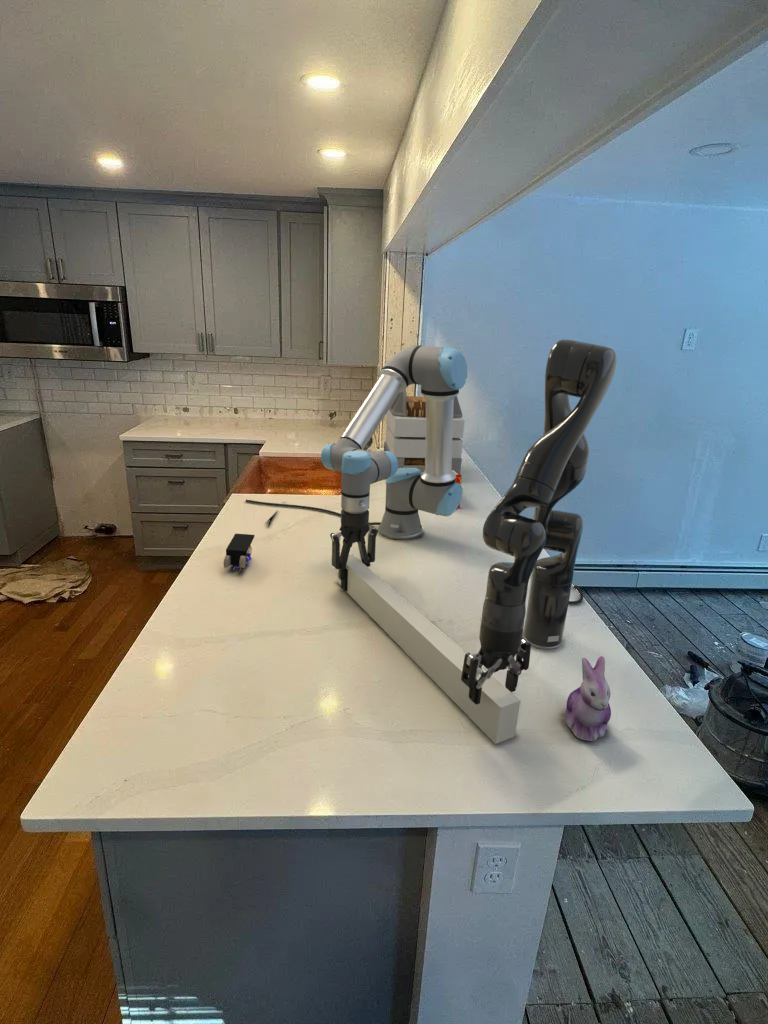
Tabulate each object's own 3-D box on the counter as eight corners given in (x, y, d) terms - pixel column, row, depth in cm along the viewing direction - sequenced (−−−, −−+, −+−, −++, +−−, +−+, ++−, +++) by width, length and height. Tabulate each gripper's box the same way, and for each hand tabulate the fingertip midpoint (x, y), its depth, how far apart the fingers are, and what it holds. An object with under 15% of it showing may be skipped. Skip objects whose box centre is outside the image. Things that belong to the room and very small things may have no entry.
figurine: (589, 751, 104) (604, 682, 99) (550, 716, 112) (561, 651, 107) (625, 735, 108) (641, 669, 103) (585, 703, 116) (597, 640, 111)
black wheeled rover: (246, 579, 165) (256, 553, 178) (245, 557, 161) (255, 532, 175) (223, 578, 165) (235, 552, 178) (221, 556, 161) (233, 531, 175)
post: (337, 582, 163) (337, 556, 160) (352, 579, 165) (352, 554, 162) (495, 744, 105) (500, 707, 102) (515, 736, 107) (520, 700, 104)
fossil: (348, 441, 313) (370, 426, 308) (359, 455, 316) (380, 440, 311) (342, 455, 293) (365, 439, 288) (353, 469, 296) (376, 454, 291)
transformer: (382, 463, 289) (386, 382, 275) (445, 464, 293) (451, 384, 279) (390, 482, 257) (394, 392, 243) (460, 483, 261) (468, 394, 247)
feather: (284, 505, 226) (287, 501, 226) (267, 528, 200) (269, 524, 199) (281, 503, 226) (283, 499, 225) (262, 526, 199) (265, 521, 199)
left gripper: (330, 518, 144) (329, 599, 152) (390, 509, 152) (387, 587, 160) (318, 509, 150) (318, 587, 158) (377, 501, 158) (374, 576, 166)
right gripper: (484, 639, 95) (475, 718, 101) (546, 621, 102) (534, 696, 107) (458, 618, 102) (450, 694, 107) (518, 603, 108) (508, 675, 114)
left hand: (352, 587), depth 159 cm, fingers closed on post, 5 cm apart
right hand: (492, 695), depth 107 cm, fingers open, 8 cm apart
